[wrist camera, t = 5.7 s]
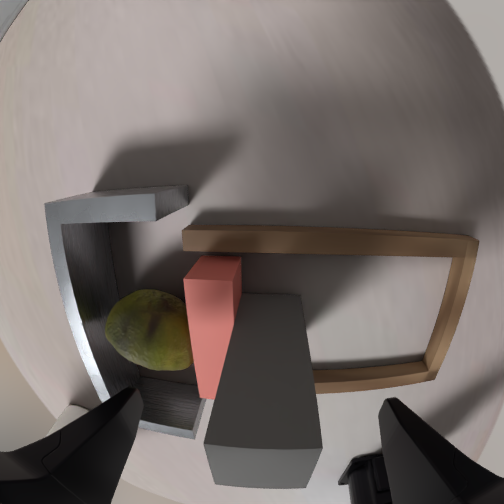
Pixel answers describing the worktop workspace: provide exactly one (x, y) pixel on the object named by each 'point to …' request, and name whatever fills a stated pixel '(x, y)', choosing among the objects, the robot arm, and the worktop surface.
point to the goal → (114, 297)
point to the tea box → (9, 13)
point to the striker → (252, 379)
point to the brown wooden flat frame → (359, 244)
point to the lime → (151, 330)
